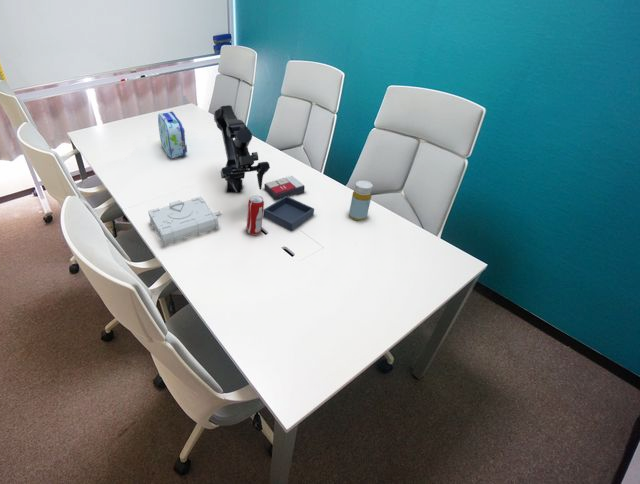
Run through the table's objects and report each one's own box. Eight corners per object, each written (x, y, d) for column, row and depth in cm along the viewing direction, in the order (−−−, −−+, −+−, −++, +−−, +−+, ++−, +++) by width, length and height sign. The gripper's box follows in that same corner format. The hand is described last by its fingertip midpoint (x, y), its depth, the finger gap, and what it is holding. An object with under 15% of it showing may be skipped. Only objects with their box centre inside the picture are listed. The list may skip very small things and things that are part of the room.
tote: (263, 216, 142) (263, 209, 140) (285, 202, 151) (286, 195, 149) (291, 231, 134) (292, 223, 132) (313, 215, 142) (314, 208, 140)
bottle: (366, 213, 143) (374, 181, 134) (366, 222, 137) (373, 190, 129) (349, 210, 145) (355, 178, 136) (347, 219, 139) (354, 187, 131)
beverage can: (245, 227, 136) (245, 194, 128) (262, 226, 137) (262, 193, 128) (247, 236, 132) (246, 203, 123) (264, 235, 132) (265, 202, 123)
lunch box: (189, 158, 190) (185, 121, 178) (170, 162, 186) (164, 124, 174) (177, 141, 209) (172, 107, 197) (159, 145, 206) (154, 110, 194)
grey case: (231, 227, 137) (230, 211, 132) (162, 249, 127) (159, 232, 122) (211, 204, 151) (210, 189, 147) (148, 222, 141) (145, 206, 136)
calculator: (263, 182, 158) (292, 174, 163) (264, 190, 161) (292, 182, 165) (275, 193, 150) (305, 184, 154) (275, 201, 152) (304, 192, 157)
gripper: (220, 148, 126) (228, 189, 123) (269, 142, 129) (277, 181, 127) (217, 158, 137) (224, 196, 134) (262, 153, 140) (270, 189, 138)
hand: (249, 191), depth 133 cm, fingers open, 9 cm apart
